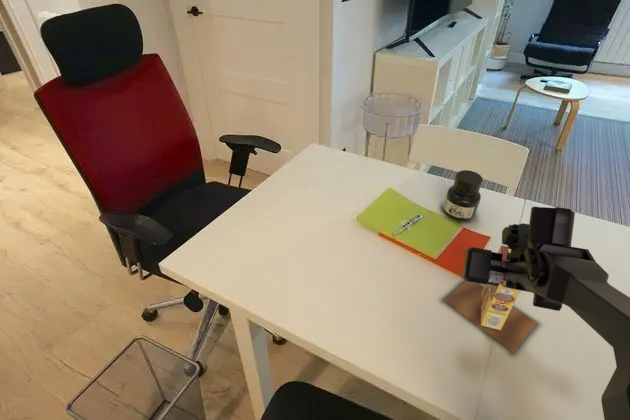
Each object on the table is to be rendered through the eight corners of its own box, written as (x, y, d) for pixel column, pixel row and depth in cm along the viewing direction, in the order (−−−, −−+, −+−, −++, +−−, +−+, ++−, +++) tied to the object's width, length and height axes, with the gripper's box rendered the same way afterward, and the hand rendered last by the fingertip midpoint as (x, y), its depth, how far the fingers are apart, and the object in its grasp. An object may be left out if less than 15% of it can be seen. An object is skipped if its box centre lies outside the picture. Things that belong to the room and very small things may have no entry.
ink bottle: (435, 211, 107) (444, 176, 100) (450, 198, 112) (459, 164, 105) (467, 226, 102) (480, 191, 95) (481, 211, 107) (494, 177, 100)
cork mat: (536, 323, 78) (537, 322, 78) (512, 352, 73) (513, 350, 73) (469, 278, 88) (469, 277, 87) (443, 301, 83) (444, 299, 82)
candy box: (501, 331, 76) (527, 281, 67) (479, 325, 77) (502, 275, 68) (499, 298, 83) (523, 248, 73) (479, 293, 84) (500, 244, 74)
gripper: (608, 235, 58) (561, 240, 73) (481, 215, 62) (462, 224, 77) (600, 307, 57) (554, 297, 72) (471, 282, 60) (454, 278, 76)
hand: (505, 271), depth 74 cm, fingers closed on candy box, 4 cm apart
